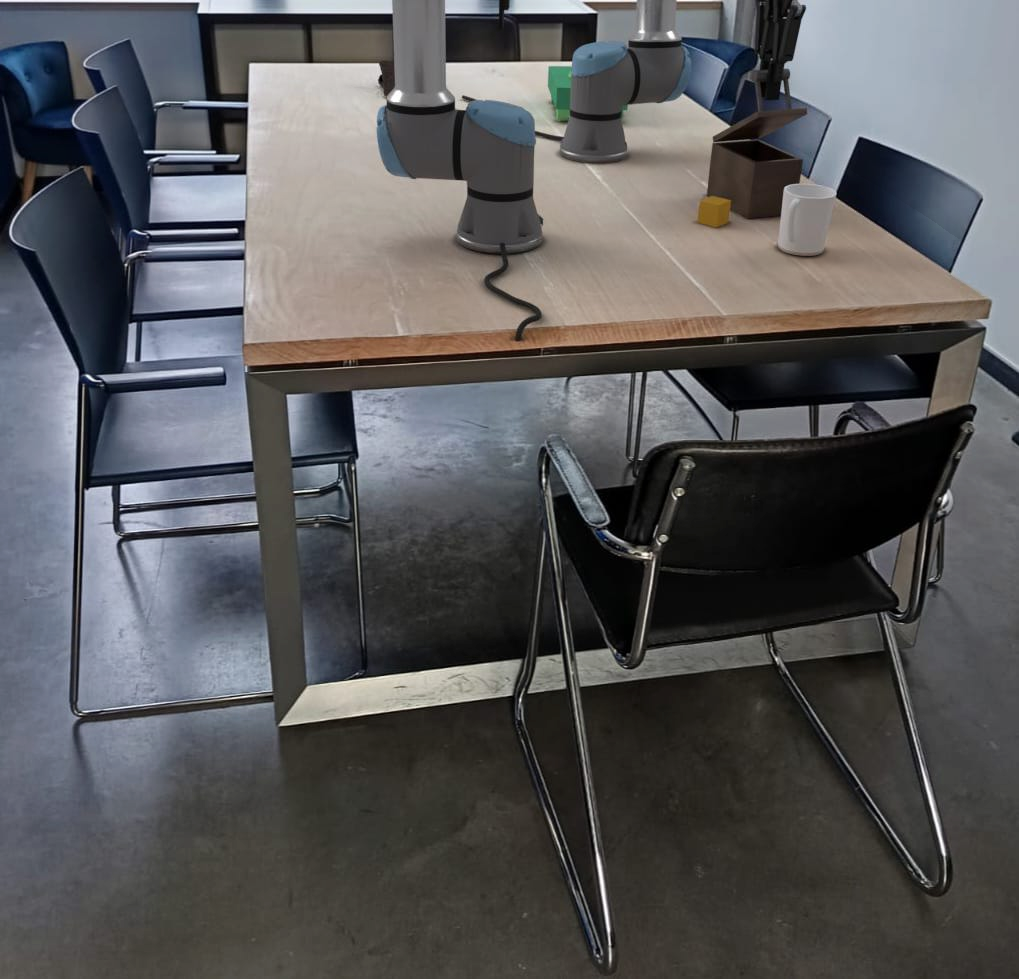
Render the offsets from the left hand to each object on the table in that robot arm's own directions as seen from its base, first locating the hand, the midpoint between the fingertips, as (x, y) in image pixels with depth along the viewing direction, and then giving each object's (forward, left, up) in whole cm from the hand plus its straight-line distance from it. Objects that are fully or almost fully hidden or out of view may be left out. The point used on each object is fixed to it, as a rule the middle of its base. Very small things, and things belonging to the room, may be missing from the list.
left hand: (468, 26), depth 224 cm
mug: (-45, -66, -28) cm, 85 cm away
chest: (-19, -60, -28) cm, 68 cm away
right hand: (-20, -60, -7) cm, 64 cm away
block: (-32, -52, -28) cm, 67 cm away
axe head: (+69, +29, -28) cm, 80 cm away
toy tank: (+59, -21, -28) cm, 69 cm away
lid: (-18, -59, -13) cm, 63 cm away
